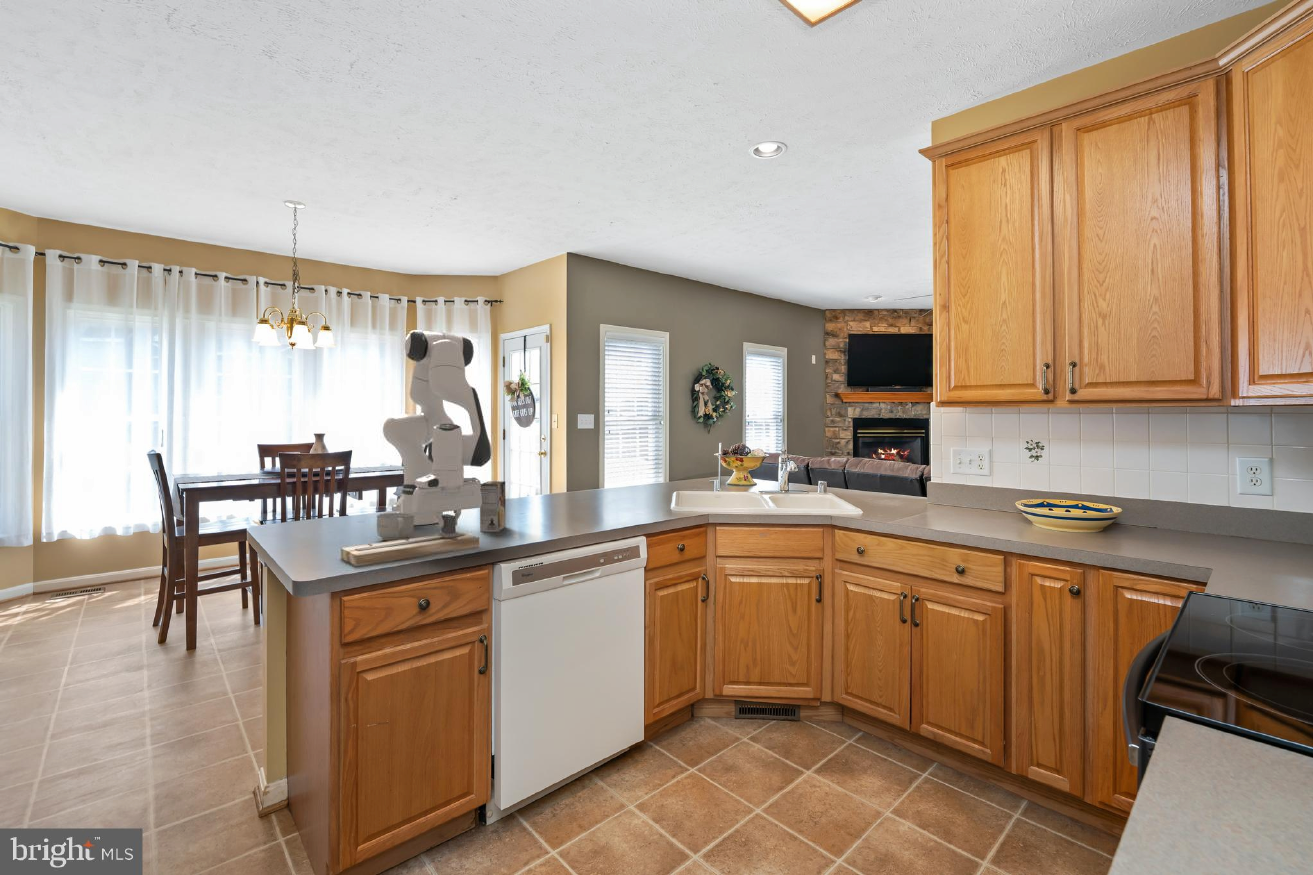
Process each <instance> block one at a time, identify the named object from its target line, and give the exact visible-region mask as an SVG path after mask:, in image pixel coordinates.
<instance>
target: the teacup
mask: <svg viewBox="0 0 1313 875" xmlns="http://www.w3.org/2000/svg"><path fill="white" fill-rule="evenodd" d="M414 516H415V515H414V514H409V513H394V512H386V513H379V514H377V515H376V532H377V535H378V536H379V537H380V538H381V539H382V540H383V541H386V542H388V541H396V540H403V539H409V537H410V536H411V535H412V534H413V532H414V526H415V525H414Z"/></svg>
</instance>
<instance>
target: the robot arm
mask: <svg viewBox="0 0 1313 875" xmlns="http://www.w3.org/2000/svg"><path fill="white" fill-rule="evenodd" d="M404 351H405V354H406V355H405V356H406V357H407V358H408V359H409V360H411V361H414V362H415V363H414V366H413V371H412V377H411V381H410V389H409V396H410V397H409V398H410V399H411V400H412V402H413V403H415V404H416V405H418V406H419V407H420V414H414V413H413V414H409V413H407V414H397V415H392V416H389V417H388V418H387V419H386V420H385V422H384V423H383V427H382V433H383V437H384V438H385V441H387V442H388V444H391V446H393V447H394V448H395V449H396V451H397V452H398V454H399V455H400V458H401V461H402V465H403V466H402V467H403V479H404V480H403V484H402V487H401V496H400V497H399V498H398V499H397V501H396V502H395V503H394V505H392V506H391V511H392V512H391V513H409V514H414V515H415V516H414V526H421V525H422V526H423V525H424V526H425V525H432V524H438V527H439V528H441V527H446V521H444V520H443V519H442V517H441V516H443V515H444V512H445V513H446V512H453V516H456V527H457V526H458V520H459V518H460V516H461V514H462V511H464V510H473V509H480V506H481V505H482V497H481V491H480V489H481V484H482V483H481V480H480V479H479V478H477V477H465V474H464V473H465V470H464V466H465V467H466V466H467V467H468V466H470V467H477V468H478V467H480V468H481V467H483V466H485V465H487V464H488V463H489V461H490V460H492V459H491V458H492V451H493V450H492V445H491V442H490V439H489V437H488V436H489V435H488V432H487V428H486V424H485V419H484V415H483V410H482V406H481V402H480V398H479V395H478V392H477V391H476V388H475V387H473V386H471V385H470V384H469V382H468V380H467V378H466V367H467V366H469V365H470V364H471V363H472V360H473V358H474V353H475V352H474V351H475V350H474V344H473V342H472V341H471V340H470V338H466V337H464V336H459V335H453V334H451V333H446V332H437V331H427V330H425V331H424V330H422V329H415V330H411V331H410V332H408V335H407V336H406V338H405V340H404ZM444 401H446V402H447V403H451V404H454V405H457V406H458V407H461V408H463V409H464V410H466V412H467V414H468V416H469V421H470V426H471V429H472V430H471V431H472V433H470V434H463V432H462V427H461V426H460V425H458V424H455V422H454V421H453V419H452V418H451V417H450V416H449V415H448V414H447V413H446V410H445V407H444ZM424 445H426V446H427V451H428V452H427V453H428V454H427V453H425V451H424V448H423V446H424Z"/></svg>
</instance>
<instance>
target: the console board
mask: <svg viewBox="0 0 1313 875" xmlns="http://www.w3.org/2000/svg"><path fill="white" fill-rule="evenodd" d="M457 532H458V533H459V536H456V537H449V538H445V537H441V536H438V534H434V535H426V536H418V537H413V538H407V539H403V540H396V541H382V542H375V543H367V544H359V545H353V546H345V547H341V548H340V559H341V560H343V561H345V562H348V563H349V564H351V565H353V566H355V567H361V566H367V565H372V564H373V565H374V564H380V563H386V562H393V561H397V560H398V561H399V560H405V559H406V560H407V559H410V558H417V557H424V556H431V555H436V554H443V553H449V552H450V553H451V552H455V551H456V552H457V551H461V550H467V549H473V548H479V547H480V537H479V536H475V535H473V534H469V533H465V532H462V531H457Z"/></svg>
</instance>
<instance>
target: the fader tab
mask: <svg viewBox="0 0 1313 875" xmlns="http://www.w3.org/2000/svg"><path fill="white" fill-rule="evenodd" d="M441 517H442V519H443V520H444V521H446V527H440V528H441V530H440V531H438V532H437V535H438V536H441V537H445V538H449V537H456V536H459V533H458V532H459V531H456V527H457V526H456V516H454V514H453V515H452V514H450V513H445V514H444V513H443V516H441Z"/></svg>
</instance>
